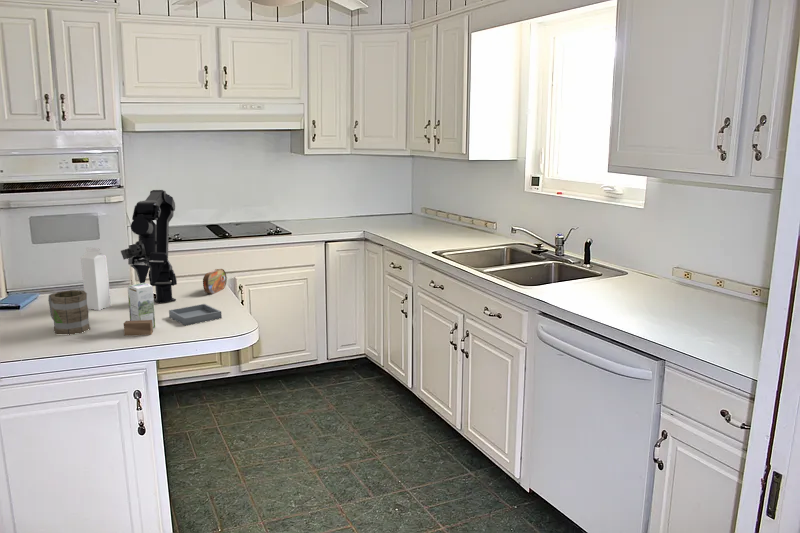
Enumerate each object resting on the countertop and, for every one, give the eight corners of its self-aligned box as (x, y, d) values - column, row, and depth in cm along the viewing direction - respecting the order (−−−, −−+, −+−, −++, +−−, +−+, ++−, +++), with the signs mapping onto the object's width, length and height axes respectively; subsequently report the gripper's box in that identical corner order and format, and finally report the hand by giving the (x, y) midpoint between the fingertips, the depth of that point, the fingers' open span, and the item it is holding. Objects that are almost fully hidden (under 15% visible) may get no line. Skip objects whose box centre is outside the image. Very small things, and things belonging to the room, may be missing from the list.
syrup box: (146, 324, 225) (143, 282, 222) (156, 327, 221) (152, 284, 218) (130, 328, 221) (126, 285, 218) (140, 331, 217) (136, 288, 214)
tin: (209, 296, 262) (208, 274, 260) (202, 295, 262) (200, 274, 261) (227, 287, 276) (226, 266, 274) (220, 286, 277) (219, 266, 275)
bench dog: (126, 332, 216) (125, 320, 215) (153, 331, 217) (152, 319, 216) (124, 335, 213) (123, 323, 212) (150, 334, 214) (150, 322, 213)
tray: (169, 317, 233) (168, 310, 233) (204, 310, 241) (204, 303, 241) (185, 325, 224) (184, 318, 223) (221, 318, 232) (221, 311, 231)
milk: (98, 310, 241) (92, 250, 236) (85, 309, 243) (79, 248, 238) (111, 306, 247) (105, 247, 242) (98, 304, 249) (92, 245, 244)
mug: (97, 328, 220) (94, 292, 218) (67, 337, 211) (63, 300, 209) (67, 321, 228) (64, 286, 226) (37, 329, 219) (33, 293, 217)
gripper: (113, 240, 232) (113, 285, 230) (135, 234, 218) (135, 282, 217) (145, 241, 239) (145, 285, 238) (168, 236, 226) (168, 282, 225)
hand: (147, 284), depth 229 cm, fingers open, 9 cm apart
